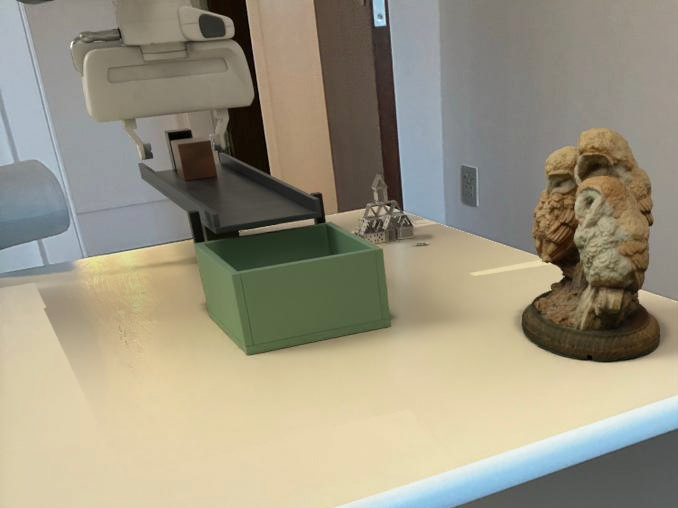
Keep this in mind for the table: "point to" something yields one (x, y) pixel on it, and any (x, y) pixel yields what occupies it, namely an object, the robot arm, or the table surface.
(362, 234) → the house of cards
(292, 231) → the green storage bin
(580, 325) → the owl figurine
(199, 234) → the stand
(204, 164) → the block
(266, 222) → the grey slide chute
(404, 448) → the table surface
